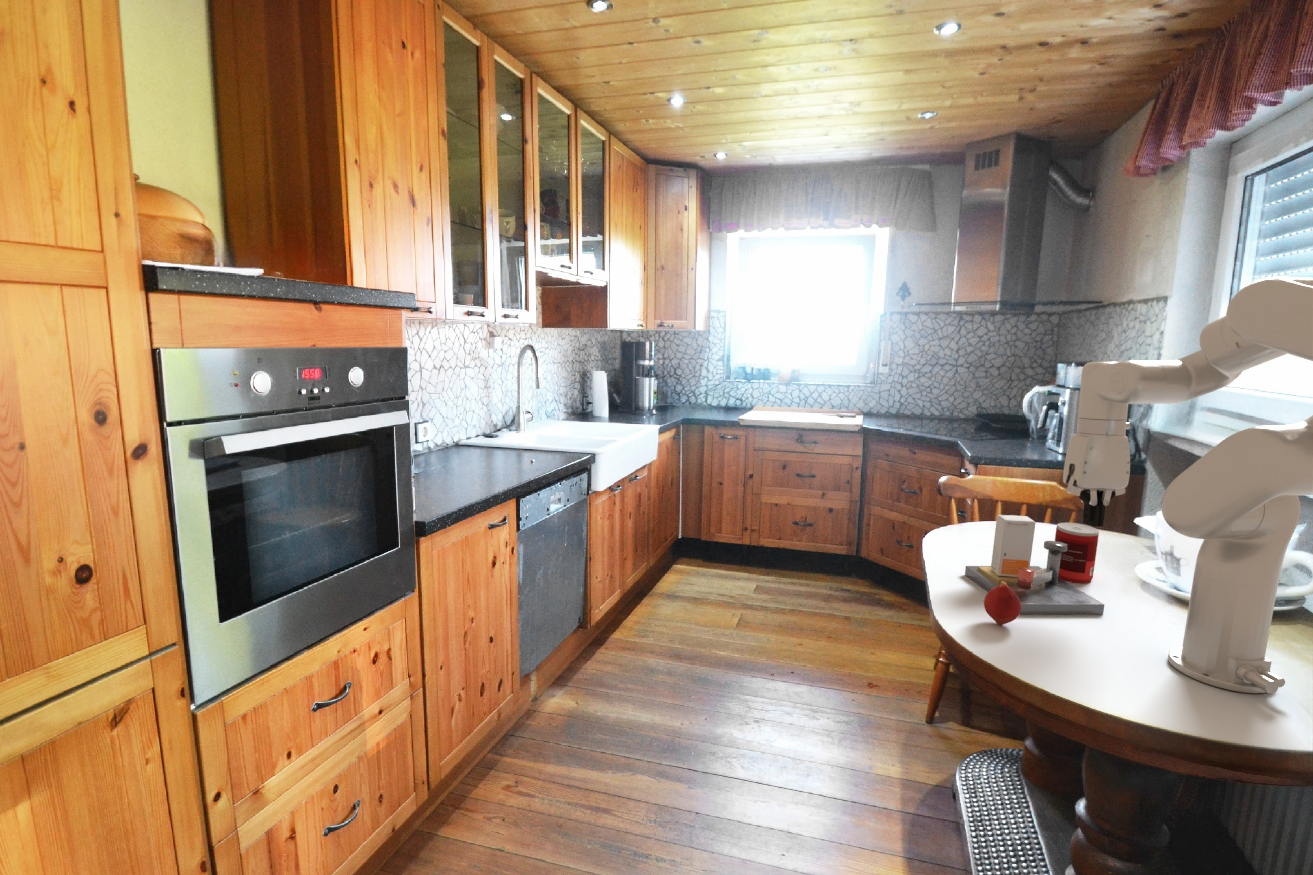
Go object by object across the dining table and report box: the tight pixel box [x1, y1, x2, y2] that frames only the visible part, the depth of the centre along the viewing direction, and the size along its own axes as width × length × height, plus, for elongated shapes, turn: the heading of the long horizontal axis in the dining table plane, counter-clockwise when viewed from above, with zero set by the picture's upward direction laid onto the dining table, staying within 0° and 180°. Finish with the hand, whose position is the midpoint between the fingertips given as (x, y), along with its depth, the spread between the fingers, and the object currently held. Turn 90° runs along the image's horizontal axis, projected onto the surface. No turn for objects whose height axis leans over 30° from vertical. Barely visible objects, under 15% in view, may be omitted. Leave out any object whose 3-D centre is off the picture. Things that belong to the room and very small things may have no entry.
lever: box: [1017, 567, 1052, 590], centre depth 128 cm, size 10×3×4 cm, turn 123°
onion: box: [983, 581, 1021, 626], centre depth 117 cm, size 6×6×8 cm
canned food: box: [1054, 522, 1100, 584], centre depth 140 cm, size 8×8×11 cm
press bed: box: [964, 540, 1105, 616], centre depth 131 cm, size 20×16×10 cm
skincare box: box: [990, 514, 1036, 577], centre depth 134 cm, size 6×4×12 cm
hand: (1092, 524), depth 124 cm, fingers closed
